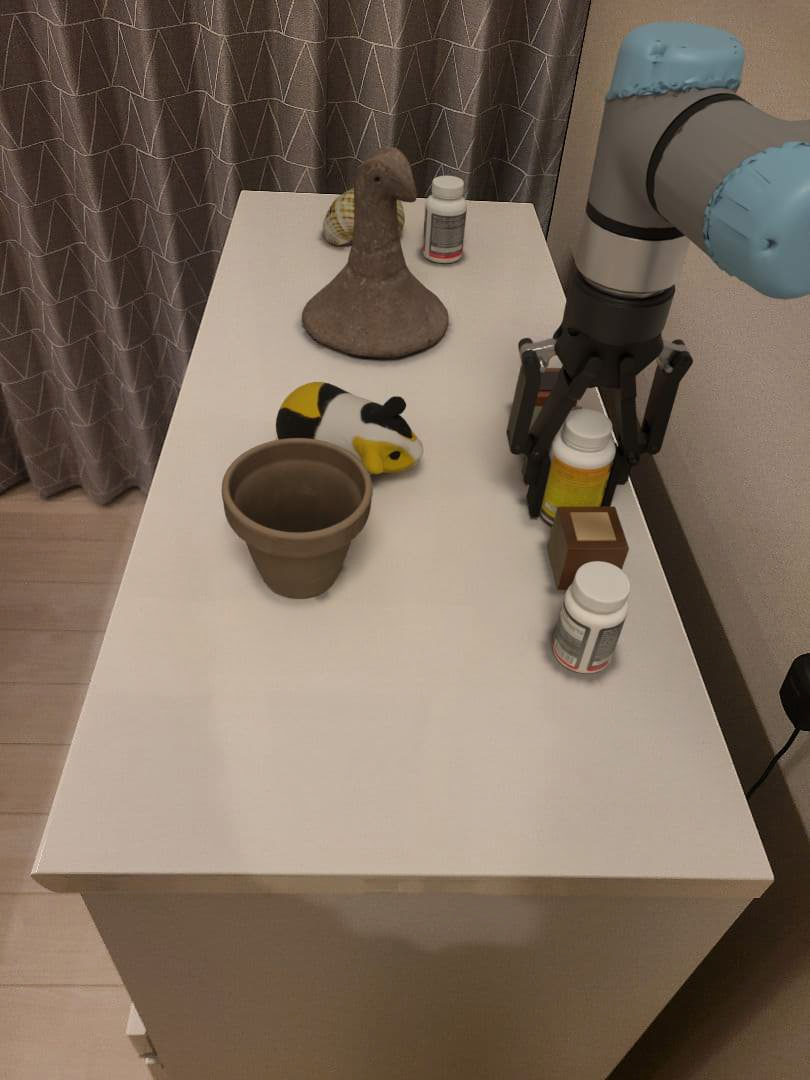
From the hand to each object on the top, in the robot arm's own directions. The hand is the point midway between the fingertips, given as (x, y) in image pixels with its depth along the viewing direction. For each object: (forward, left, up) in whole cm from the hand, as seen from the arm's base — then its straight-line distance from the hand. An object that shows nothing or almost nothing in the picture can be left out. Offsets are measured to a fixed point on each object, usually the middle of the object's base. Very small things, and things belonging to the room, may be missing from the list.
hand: (566, 506), depth 77 cm
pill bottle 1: (+44, -25, -1) cm, 50 cm away
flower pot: (+9, +23, -1) cm, 25 cm away
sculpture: (+36, -7, -1) cm, 37 cm away
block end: (+11, -8, -1) cm, 14 cm away
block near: (-6, +4, -1) cm, 7 cm away
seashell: (+54, -20, -1) cm, 57 cm away
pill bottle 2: (-12, +11, -1) cm, 16 cm away
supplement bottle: (0, 0, 0) cm, 1 cm away
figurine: (+18, +11, -1) cm, 21 cm away
